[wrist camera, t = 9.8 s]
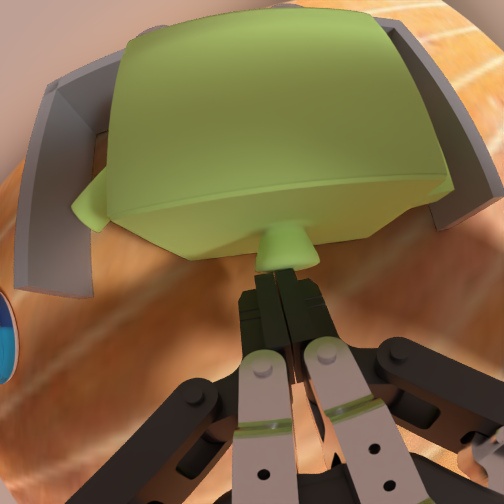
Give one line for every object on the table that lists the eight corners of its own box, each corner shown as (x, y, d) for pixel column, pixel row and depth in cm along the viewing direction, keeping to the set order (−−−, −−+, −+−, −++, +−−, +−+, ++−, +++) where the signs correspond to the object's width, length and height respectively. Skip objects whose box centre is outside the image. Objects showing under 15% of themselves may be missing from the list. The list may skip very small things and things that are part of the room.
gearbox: (122, 297, 16) (3, 287, 7) (122, 154, 18) (44, 73, 9) (415, 259, 16) (525, 219, 6) (377, 119, 17) (425, 18, 8)
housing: (377, 69, 19) (397, 10, 12) (450, 228, 16) (513, 190, 9) (86, 122, 19) (45, 74, 13) (79, 299, 16) (5, 287, 10)
